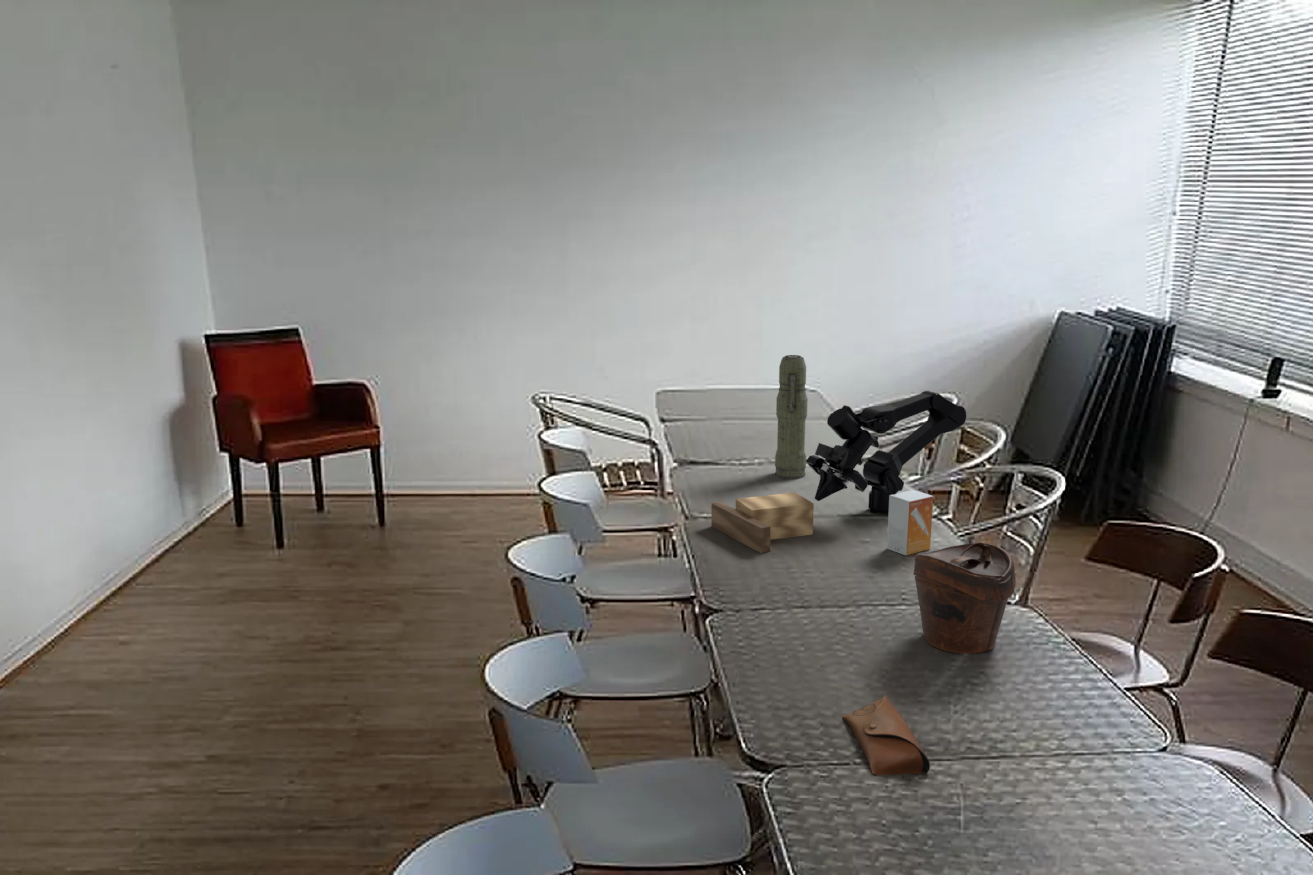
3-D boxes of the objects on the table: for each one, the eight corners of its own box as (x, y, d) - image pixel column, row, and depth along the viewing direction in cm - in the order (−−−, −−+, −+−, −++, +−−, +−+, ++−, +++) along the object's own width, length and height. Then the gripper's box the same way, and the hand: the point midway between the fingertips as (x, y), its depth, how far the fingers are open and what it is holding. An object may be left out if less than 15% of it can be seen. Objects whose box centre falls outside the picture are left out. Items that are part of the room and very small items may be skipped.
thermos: (802, 469, 303) (805, 352, 294) (808, 480, 291) (811, 359, 283) (773, 469, 303) (775, 353, 295) (777, 480, 291) (779, 359, 283)
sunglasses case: (837, 714, 160) (859, 679, 160) (873, 732, 162) (895, 698, 161) (873, 777, 143) (898, 739, 142) (913, 797, 145) (938, 759, 144)
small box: (906, 556, 230) (909, 501, 227) (885, 548, 235) (888, 494, 232) (931, 549, 234) (934, 495, 231) (910, 542, 239) (913, 489, 236)
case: (1008, 621, 194) (1014, 532, 190) (1015, 668, 176) (1021, 571, 171) (912, 613, 199) (915, 526, 195) (909, 658, 180) (912, 563, 176)
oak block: (794, 522, 254) (795, 492, 253) (812, 535, 245) (813, 503, 243) (735, 529, 250) (735, 498, 248) (751, 542, 240) (752, 510, 238)
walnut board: (720, 524, 253) (720, 501, 251) (770, 551, 234) (770, 526, 232) (711, 526, 251) (711, 503, 250) (761, 553, 233) (761, 528, 231)
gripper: (812, 424, 258) (775, 472, 255) (859, 439, 242) (821, 490, 239) (836, 449, 263) (801, 497, 261) (884, 466, 247) (847, 516, 245)
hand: (816, 499), depth 251 cm, fingers closed
